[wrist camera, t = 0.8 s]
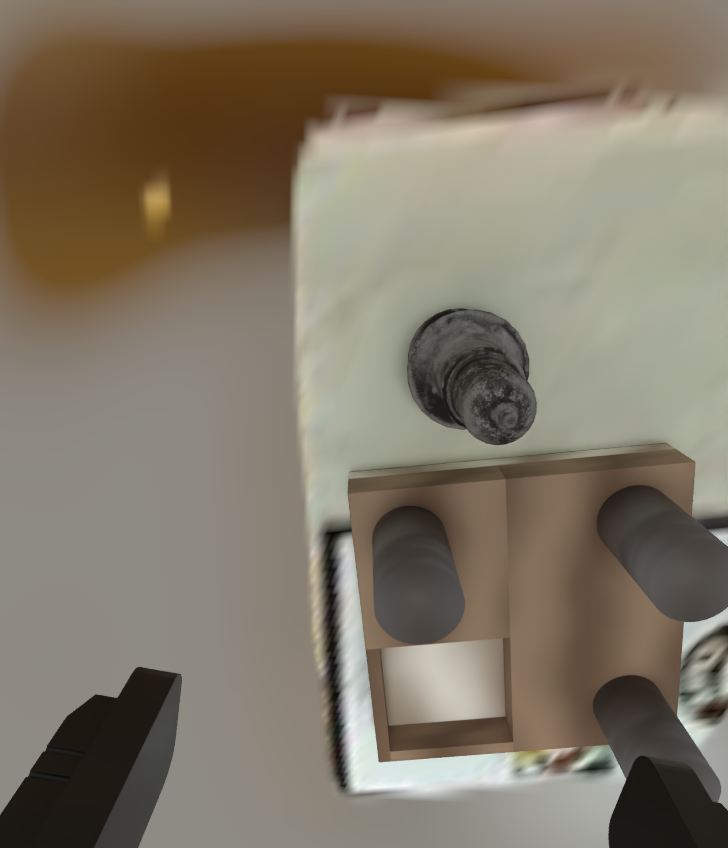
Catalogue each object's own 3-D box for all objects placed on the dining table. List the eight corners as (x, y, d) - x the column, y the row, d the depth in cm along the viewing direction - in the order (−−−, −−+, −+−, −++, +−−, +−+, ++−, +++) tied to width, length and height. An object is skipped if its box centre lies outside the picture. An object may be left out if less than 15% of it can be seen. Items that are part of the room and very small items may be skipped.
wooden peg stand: (666, 443, 33) (774, 513, 24) (651, 702, 38) (736, 835, 29) (349, 472, 33) (343, 551, 25) (377, 723, 38) (381, 861, 30)
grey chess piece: (518, 306, 30) (611, 341, 19) (504, 413, 32) (581, 505, 21) (407, 299, 30) (432, 331, 19) (398, 407, 32) (417, 496, 21)
